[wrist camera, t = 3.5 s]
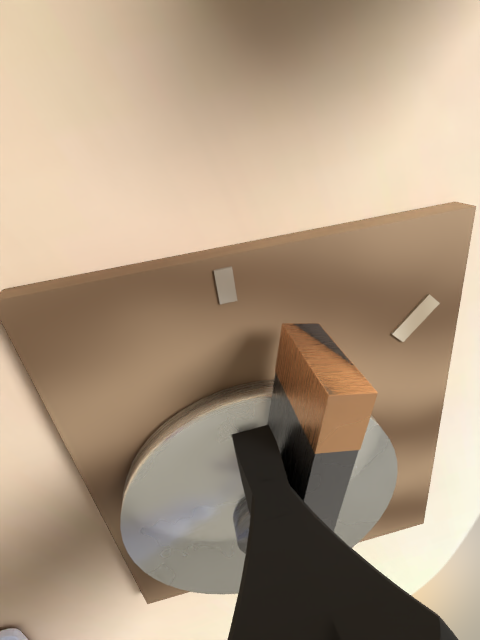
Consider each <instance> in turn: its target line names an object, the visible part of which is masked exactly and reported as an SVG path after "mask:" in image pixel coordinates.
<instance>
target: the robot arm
mask: <svg viewBox="0 0 480 640" xmlns="http://www.w3.org/2000/svg"><path fill="white" fill-rule="evenodd" d="M231 435H232V439H233V444H234V449H235V453H236V458H237V463H238V467H239V472H240V477H241V481H242V485H243V489H244V493H245V497H246V502H247V506H248V509H249V512H250V515H251V516H250V525H249V534H248V541H247V549H246V555H245V561H244V567H243V573H242V578H241V583H240V588H239V593H238V598H237V602H236V606H235V611H234V615H233V619H232V624H231V628H230V632H229V636H228V640H458V639H457V637H456V636H455V635H454V633H453V632H452V631H451V630H450V628H449V627H448V626H447V625H446V624H445V622H444V621H443V620H442V619H441V618H440V616H438V615H437V614H436V613H435V612H433V611H432V610H430V609H429V608H428V607H426V606H425V605H423V604H422V603H421V602H419V601H418V600H416V599H415V598H414V597H412V596H411V595H409V594H408V593H407V592H405V591H404V590H403V589H401V588H400V587H399V586H397V585H396V584H395V583H393V582H392V581H391V580H390V579H388V578H387V577H386V576H384V575H383V574H382V573H381V572H379V571H378V570H377V569H376V568H374V567H373V566H372V565H371V564H370V563H368V562H367V561H366V560H365V559H364V558H363V557H361V556H360V555H359V554H358V553H357V552H356V551H354V550H353V549H352V548H351V547H350V546H348V545H347V544H346V543H345V542H344V541H343V540H342V539H341V538H340V537H339V536H338V535H336V534H335V533H334V532H333V531H332V530H331V529H330V528H329V527H328V526H327V525H326V524H325V523H324V522H323V521H322V520H321V519H320V518H319V517H318V516H317V515H316V514H315V513H314V512H313V511H312V510H311V509H310V508H309V507H308V505H307V504H306V503H305V502H304V501H303V500H302V499H301V498H300V497H299V495H298V494H297V493H296V492H295V491H294V490H293V488H292V487H291V486H290V485H289V482H288V479H287V475H286V472H285V469H284V465H283V462H282V458H281V455H280V451H279V448H278V445H277V441H276V439H275V437H274V435H273V433H272V431H271V429H270V427H269V425H265V426H261V427H258V428H254V429H250V430H246V431H242V432H239V433H235V434H231ZM0 640H28V639H27V638H26V636H25V635H24V634H23V633H22V632H21V631H20V630H19V629H16V628H9V629H5V630H2V631H0Z"/></svg>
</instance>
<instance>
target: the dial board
mask: <svg viewBox="0 0 480 640" xmlns="http://www.w3.org/2000/svg"><path fill="white" fill-rule="evenodd" d="M475 210H476V206H473V205H468V204H463V203H459V202H452V203H446V204H441V205H436V206H431V207H426V208H421V209H415V210H410V211H405V212H400V213H395V214H390V215H384V216H379V217H374V218H369V219H364V220H359V221H354V222H348V223H343V224H338V225H333V226H328V227H323V228H317V229H312V230H307V231H302V232H297V233H292V234H286V235H281V236H276V237H271V238H266V239H261V240H255V241H250V242H245V243H240V244H235V245H230V246H224V247H219V248H214V249H209V250H204V251H199V252H193V253H188V254H183V255H178V256H173V257H168V258H162V259H157V260H152V261H147V262H142V263H137V264H131V265H126V266H121V267H116V268H111V269H106V270H100V271H95V272H90V273H85V274H80V275H75V276H70V277H64V278H59V279H54V280H49V281H44V282H39V283H33V284H28V285H23V286H18V287H13V288H8V289H4V290H2V291H1V292H0V320H1V322H2V324H3V326H4V328H5V330H6V332H7V334H8V336H9V338H10V339H11V341H12V343H13V345H14V347H15V349H16V351H17V353H18V355H19V357H20V359H21V361H22V363H23V365H24V367H25V368H26V370H27V372H28V374H29V376H30V378H31V380H32V382H33V384H34V386H35V388H36V390H37V392H38V394H39V395H40V397H41V399H42V401H43V403H44V405H45V407H46V409H47V411H48V413H49V415H50V417H51V419H52V421H53V423H54V424H55V426H56V428H57V430H58V432H59V434H60V436H61V438H62V440H63V442H64V444H65V446H66V448H67V450H68V451H69V453H70V455H71V457H72V459H73V461H74V463H75V465H76V467H77V469H78V471H79V473H80V475H81V477H82V479H83V480H84V482H85V484H86V486H87V488H88V490H89V492H90V494H91V496H92V498H93V500H94V502H95V504H96V506H97V508H98V509H99V511H100V513H101V515H102V517H103V519H104V521H105V523H106V525H107V527H108V529H109V531H110V533H111V535H112V536H113V538H114V540H115V542H116V544H117V546H118V548H119V550H120V552H121V554H122V556H123V558H124V560H125V562H126V564H127V565H128V567H129V569H130V571H131V573H132V575H133V577H134V579H135V581H136V583H137V585H138V587H139V589H140V591H141V593H142V594H143V596H144V598H145V600H146V602H147V604H150V603H153V602H157V601H160V600H163V599H167V598H170V597H174V596H177V595H181V594H184V593H187V592H191V591H186V590H181V589H178V588H175V587H172V586H169V585H166V584H164V583H162V582H160V581H158V580H156V579H154V578H153V577H151V576H150V575H148V574H147V573H145V572H144V571H143V570H142V569H141V568H140V567H139V566H138V565H137V564H135V562H134V561H133V560H132V558H131V557H130V555H129V554H128V552H127V550H126V548H125V545H124V543H123V540H122V535H121V530H120V525H121V508H122V499H123V490H124V485H125V481H126V476H127V473H128V471H129V468H130V466H131V464H132V461H133V460H134V458H135V456H136V455H137V453H138V452H139V450H140V448H141V447H142V446H143V445H144V443H145V442H146V441H147V440H148V438H149V437H150V436H151V435H152V434H153V433H154V432H155V431H156V430H157V429H158V428H159V427H160V426H161V425H163V424H164V423H165V422H166V421H167V420H169V419H170V418H171V417H173V416H174V415H175V414H177V413H178V412H179V411H181V410H182V409H184V408H186V407H188V406H189V405H191V404H193V403H195V402H196V401H198V400H200V399H202V398H205V397H207V396H209V395H212V394H214V393H216V392H219V391H222V390H225V389H228V388H231V387H234V386H237V385H242V384H247V383H251V382H256V381H264V380H274V378H275V367H276V360H277V354H278V347H279V341H280V334H281V327H282V323H319V324H320V325H321V326H322V328H323V329H324V330H325V331H326V332H327V333H328V335H329V336H330V337H331V338H332V339H333V341H334V342H335V343H336V344H337V345H338V346H339V348H340V349H341V350H342V351H343V352H344V354H345V355H346V356H347V357H348V358H349V359H350V361H351V362H352V363H353V364H354V365H355V366H356V368H357V369H358V370H359V371H360V372H361V374H362V375H363V376H364V377H365V378H366V379H367V381H368V382H369V383H370V384H371V385H372V387H373V388H374V389H375V390H376V391H377V392H378V394H377V398H376V401H375V404H374V407H373V410H372V414H371V415H372V416H373V418H374V419H375V420H376V422H377V423H378V424H379V426H380V427H381V428H382V430H383V431H384V432H385V434H386V435H387V436H388V438H389V439H390V441H391V443H392V445H393V448H394V450H395V454H396V458H397V471H398V473H397V480H396V486H395V489H394V492H393V495H392V498H391V500H390V502H389V504H388V506H387V508H386V510H385V511H384V513H383V514H382V516H381V518H380V519H379V520H378V522H377V523H376V524H375V525H374V527H373V528H372V529H371V530H370V531H369V532H368V533H367V534H366V535H365V536H364V537H363V538H362V539H361V540H360V541H359V542H362V541H365V540H368V539H372V538H375V537H379V536H382V535H385V534H389V533H392V532H396V531H399V530H403V529H406V528H409V527H413V526H416V525H420V524H423V523H424V517H425V511H426V505H427V499H428V493H429V487H430V481H431V475H432V469H433V463H434V457H435V451H436V445H437V439H438V433H439V427H440V421H441V415H442V409H443V402H444V396H445V390H446V384H447V378H448V372H449V366H450V360H451V354H452V348H453V342H454V336H455V330H456V324H457V318H458V312H459V306H460V300H461V294H462V288H463V282H464V276H465V270H466V264H467V258H468V252H469V246H470V240H471V234H472V228H473V222H474V216H475Z"/></svg>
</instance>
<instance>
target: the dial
mask: <svg viewBox="0 0 480 640" xmlns="http://www.w3.org/2000/svg"><path fill="white" fill-rule="evenodd" d="M377 394H378V392H377V391H376V390H375V389H374V388H373V387H372V385H371V384H370V383H369V382H368V381H367V379H366V378H365V377H364V376H363V375H362V374H361V372H360V371H359V370H358V369H357V368H356V366H355V365H354V364H353V363H352V362H351V361H350V359H349V358H348V357H347V356H346V355H345V354H344V352H343V351H342V350H341V349H340V348H339V346H338V345H337V344H336V343H335V342H334V341H333V339H332V338H331V337H330V336H329V335H328V333H327V332H326V331H325V330H324V329H323V328H322V326H321V325H320V324H319V323H282V327H281V334H280V341H279V347H278V354H277V360H276V367H275V378H274V380H264V381H256V382H251V383H247V384H242V385H237V386H234V387H231V388H228V389H225V390H222V391H219V392H216V393H214V394H212V395H209V396H207V397H205V398H202V399H200V400H198V401H196V402H195V403H193V404H191V405H189V406H188V407H186V408H184V409H182V410H181V411H179V412H178V413H177V414H175V415H174V416H173V417H171V418H170V419H169V420H167V421H166V422H165V423H164V424H163V425H161V426H160V427H159V428H158V429H157V430H156V431H155V432H154V433H153V434H152V435H151V436H150V437H149V438H148V440H147V441H146V442H145V443H144V445H143V446H142V447H141V448H140V450H139V452H138V453H137V455H136V456H135V458H134V460H133V461H132V464H131V466H130V468H129V471H128V473H127V476H126V481H125V485H124V490H123V499H122V508H121V525H120V530H121V535H122V540H123V543H124V545H125V548H126V550H127V552H128V554H129V555H130V557H131V558H132V560H133V561H134V562H135V564H137V565H138V566H139V567H140V568H141V569H142V570H143V571H144V572H145V573H147V574H148V575H150V576H151V577H153V578H154V579H156V580H158V581H160V582H162V583H164V584H166V585H169V586H172V587H175V588H178V589H181V590H186V591H191V592H197V593H205V594H236V593H239V588H240V583H241V578H242V573H243V567H244V561H245V555H246V549H247V541H248V534H249V525H250V516H251V515H250V512H249V509H248V506H247V502H246V497H245V493H244V489H243V485H242V481H241V477H240V472H239V467H238V463H237V458H236V453H235V449H234V444H233V439H232V435H231V434H235V433H239V432H242V431H246V430H250V429H254V428H258V427H261V426H265V425H269V427H270V429H271V431H272V433H273V435H274V437H275V439H276V441H277V445H278V448H279V451H280V455H281V458H282V462H283V465H284V469H285V472H286V475H287V479H288V482H289V485H290V486H291V487H292V488H293V490H294V491H295V492H296V493H297V494H298V495H299V497H300V498H301V499H302V500H303V501H304V502H305V503H306V504H307V505H308V507H309V508H310V509H311V510H312V511H313V512H314V513H315V514H316V515H317V516H318V517H319V518H320V519H321V520H322V521H323V522H324V523H325V524H326V525H327V526H328V527H329V528H330V529H331V530H332V531H333V532H334V533H335V534H336V535H338V536H339V537H340V538H341V539H342V540H343V541H344V542H345V543H346V544H347V545H348V546H350V547H351V548H352V547H353V546H354V545H356V544H357V543H358V542H359V541H360V540H361V539H362V538H363V537H364V536H365V535H366V534H367V533H368V532H369V531H370V530H371V529H372V528H373V527H374V525H375V524H376V523H377V522H378V520H379V519H380V518H381V516H382V514H383V513H384V511H385V510H386V508H387V506H388V504H389V502H390V500H391V498H392V495H393V492H394V489H395V486H396V480H397V473H398V471H397V458H396V454H395V450H394V448H393V445H392V443H391V441H390V439H389V438H388V436H387V435H386V434H385V432H384V431H383V430H382V428H381V427H380V426H379V424H378V423H377V422H376V420H375V419H374V418H373V416H372V415H371V414H372V410H373V407H374V404H375V401H376V398H377Z"/></svg>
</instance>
